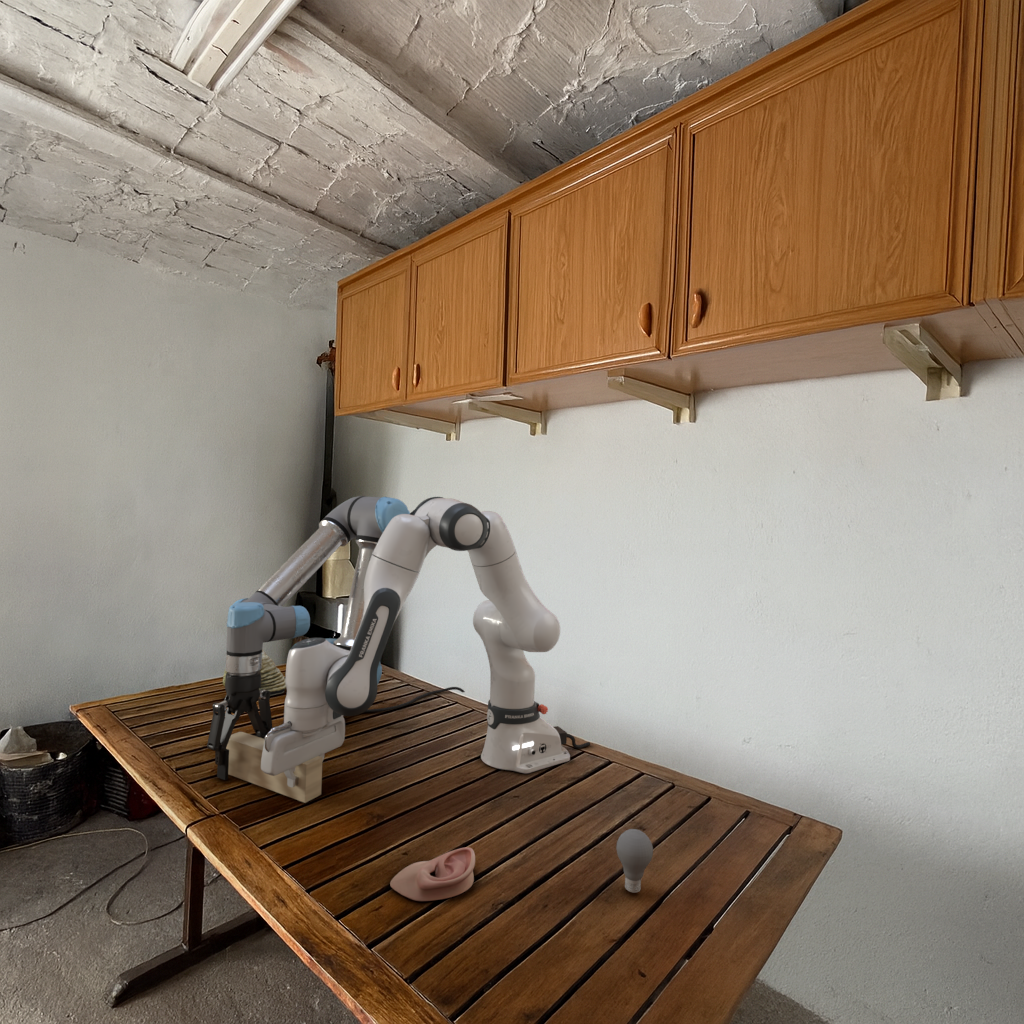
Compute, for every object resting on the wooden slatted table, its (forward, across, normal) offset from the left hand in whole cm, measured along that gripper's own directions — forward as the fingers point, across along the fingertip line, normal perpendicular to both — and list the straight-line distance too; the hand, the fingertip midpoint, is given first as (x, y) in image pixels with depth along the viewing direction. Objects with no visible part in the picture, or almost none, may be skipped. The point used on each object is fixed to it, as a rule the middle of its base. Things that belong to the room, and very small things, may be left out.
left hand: (239, 770), depth 144 cm
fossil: (0, +39, +42) cm, 57 cm away
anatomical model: (0, -10, -61) cm, 62 cm away
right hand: (-3, 0, -20) cm, 20 cm away
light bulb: (0, +6, -90) cm, 90 cm away
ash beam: (0, 0, -10) cm, 10 cm away
